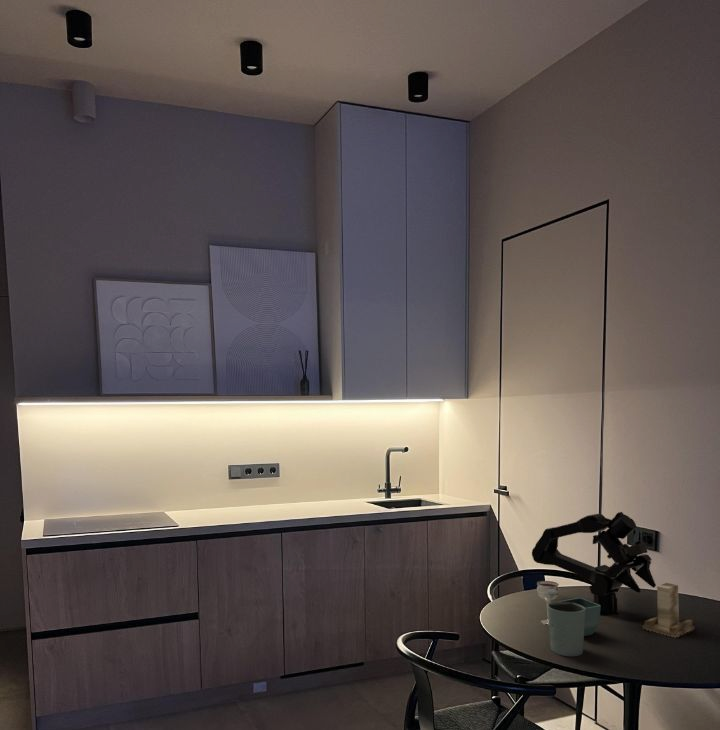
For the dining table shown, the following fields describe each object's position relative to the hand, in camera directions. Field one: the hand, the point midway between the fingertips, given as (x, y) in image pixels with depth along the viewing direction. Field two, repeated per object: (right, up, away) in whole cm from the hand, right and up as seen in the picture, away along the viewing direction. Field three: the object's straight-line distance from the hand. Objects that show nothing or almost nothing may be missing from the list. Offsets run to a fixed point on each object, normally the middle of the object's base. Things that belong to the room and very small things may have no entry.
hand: (647, 589), depth 207 cm
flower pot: (-24, -10, -10) cm, 28 cm away
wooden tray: (+4, -10, -6) cm, 12 cm away
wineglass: (-31, -11, 0) cm, 33 cm away
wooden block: (+4, -9, -6) cm, 11 cm away
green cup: (-32, -9, -23) cm, 41 cm away
